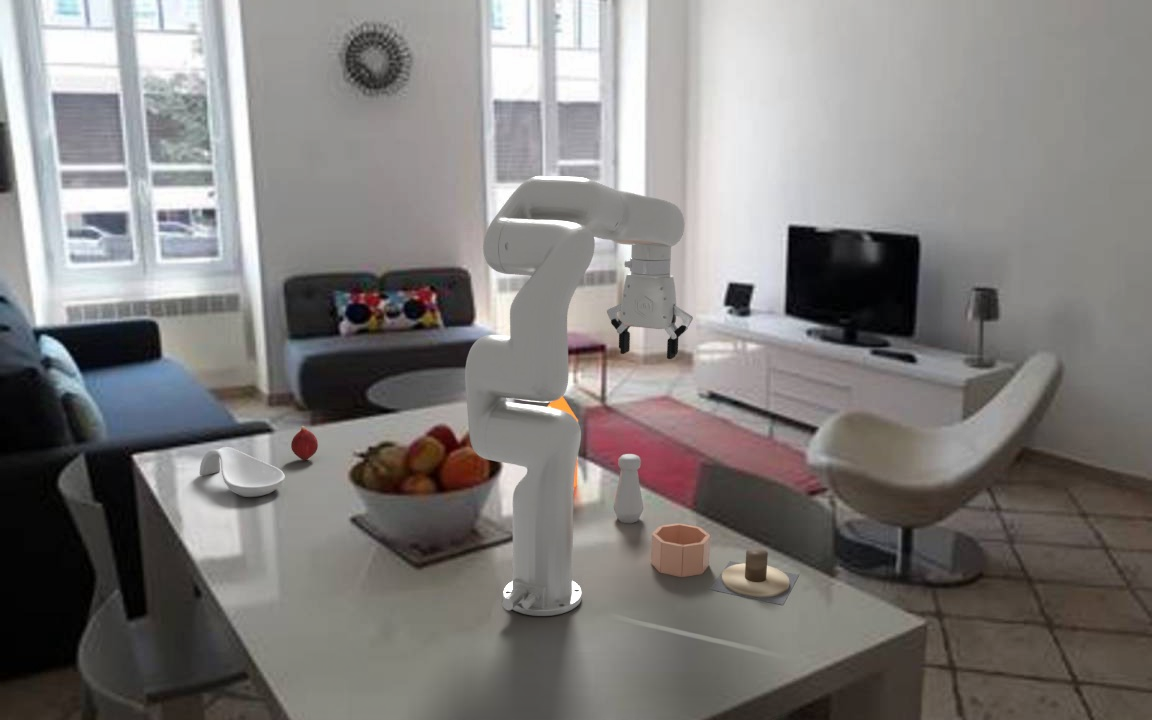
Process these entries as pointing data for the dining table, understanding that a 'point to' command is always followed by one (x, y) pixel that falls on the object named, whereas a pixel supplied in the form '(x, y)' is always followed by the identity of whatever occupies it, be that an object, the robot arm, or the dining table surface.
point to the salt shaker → (628, 490)
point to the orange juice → (564, 406)
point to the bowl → (680, 550)
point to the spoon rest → (242, 472)
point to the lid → (755, 576)
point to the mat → (775, 599)
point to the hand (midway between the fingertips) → (647, 355)
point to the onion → (304, 444)
